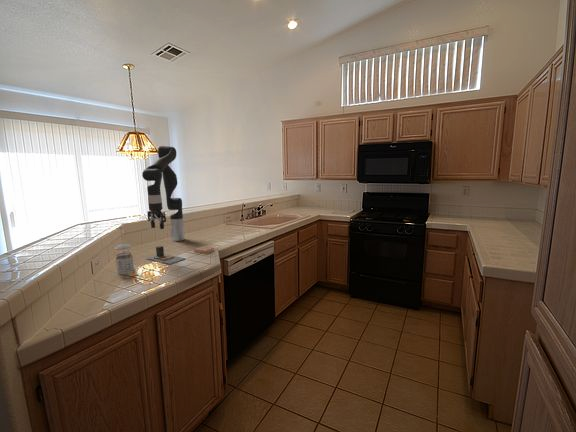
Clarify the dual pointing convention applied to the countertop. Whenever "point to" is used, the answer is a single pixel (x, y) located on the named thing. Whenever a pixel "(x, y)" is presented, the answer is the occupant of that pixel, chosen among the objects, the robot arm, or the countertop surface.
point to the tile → (203, 250)
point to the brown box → (162, 254)
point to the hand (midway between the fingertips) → (157, 228)
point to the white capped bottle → (124, 259)
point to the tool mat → (169, 261)
